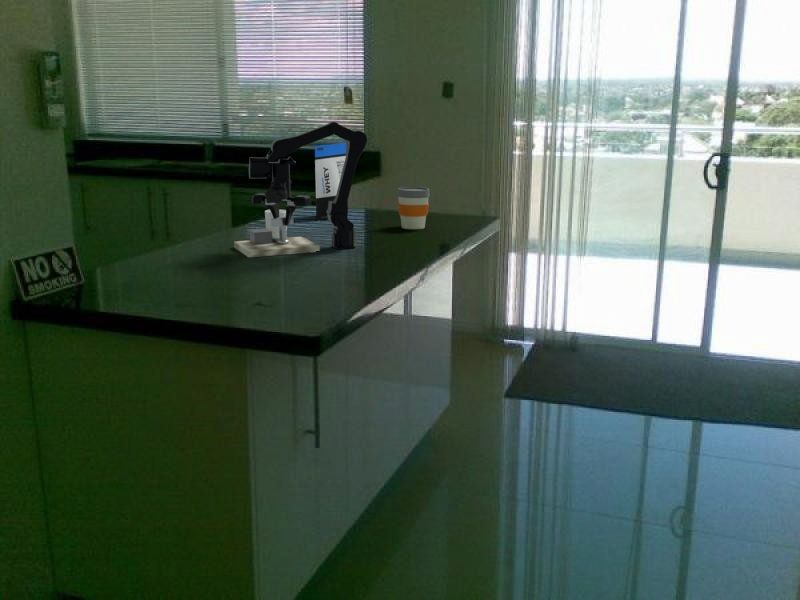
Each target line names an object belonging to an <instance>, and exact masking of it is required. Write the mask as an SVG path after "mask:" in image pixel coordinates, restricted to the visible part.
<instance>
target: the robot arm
mask: <svg viewBox="0 0 800 600" xmlns="http://www.w3.org/2000/svg"><path fill="white" fill-rule="evenodd" d="M331 136H336V137H338V138H341V139H342V140H345V143H346V158H345V162H344V166H343V170H342V174H341V178H340V182H339V186H338V190H337V194H336V197H335V199H334V201H333V202H332V201H329V204H328V209H327V211H326V212H327V213H328V214H327V217H328V219H329V220H328V221H329V222H330V223H331V224H333V229H332V233H331V247H333V248H335V249H337V250H343V249H355V248H356V245H354V244H355V243H354V242H355V241H354V227H355V225H354V223H353V222H351V221H350V219H348V215H349V198H350V193H351V190H352V189H351V188H352V185H353V180H354V177H355V173H356V169H357V166H358V161H359V159H360V157H361V155H362V154H363V152H364V150H365V147H366V145H367V142H368V137H367V135H366V134H365V132H363V131H361V130H358V129H353V130H352V129H350V128H348V127H345V126H343V125H341V124H339V123H338V122H335V121H330V122H328V123H326V124H324V125H321V126H318V127H316V128H313V129H311V130H308V131H304V132H302V133H299V134H297V135H292V136H287V137H286V136H285V137H280V138H276V139H274V140H273V141H272V142H271V144H270V150H269V152H267V154H266V156H265V157H256V156H255V157H254V156H250V157H249V161H248V162H249V163H248V178H249V179H252V180H253V179H268V177H269V176H271V174H272V176H271V177H272V179H271V180H272V181H271V182H270V187H269V188H268V189H267V190H266V191H265V192H264V193H263V192H261V193H260V192H259V193H255V194H253V195H252V198H251V199H252V200H251V201H252V202H251V203H252V204H257V205H259V204H262V203H265V204H264V207H267V209H268V210H270V211H271V213H272V215H273V218H279V209H280V203H287V204H286V205H284V210H286V226H287V227H288V226H289V222H290V220H291V217H292V216H293V214H294V212H295V211H296V209H297V208H298V207H307V206H308V205H312V197H311V196H310V195H305V194H304V195H303V194H302V195H301V194H300V195H296V196H294V197H293V194H292V192H291V185H292V180H291V170H290V169H291V165H296V163H297V162H296V161H295V160H294V159H293V158H292V157H291V156H289V155H291V154H293V153H294V152H296V151H298V150H299V149H300V148H302V147H304V146H307V145H310V144H313V143H315V142H317V141H320V140H323V139H326V138H328V137H331ZM286 157H288V158H286ZM277 159H278V161H276V160H277Z"/></svg>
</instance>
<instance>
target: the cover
mask: <svg viewBox="0 0 800 600" xmlns="http://www.w3.org/2000/svg"><path fill="white" fill-rule="evenodd" d="M249 240H250V242H252V243H253V244H255V245H256V244H269V243H272V231H270V230H268V229H266V228H255V229H254V228H253V229H249Z"/></svg>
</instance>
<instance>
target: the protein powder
mask: <svg viewBox="0 0 800 600" xmlns="http://www.w3.org/2000/svg"><path fill="white" fill-rule="evenodd" d="M345 158H346V142H342V143H341V142H340V143H332V144H321V145H315V146H314V165H315V167H314V172H315V221H316V222H319V221H318V220H321V221H329V219H328V217H327V214H328V213H327V212H326V211H327V209H328V204H329V201H332V202H333V201H334V199H335V197H336V194H337V190H338V186H339V182H340V178H341V174H342V170H343V166H344V162H345Z"/></svg>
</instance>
